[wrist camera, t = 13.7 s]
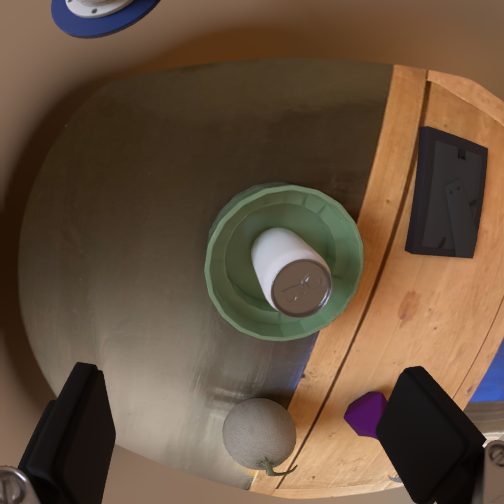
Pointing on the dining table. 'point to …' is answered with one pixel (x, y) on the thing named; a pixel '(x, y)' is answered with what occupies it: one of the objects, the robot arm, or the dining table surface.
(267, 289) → the can
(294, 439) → the fruit
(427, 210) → the picture frame
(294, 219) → the green faceted bowl
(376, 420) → the purple potion bottle
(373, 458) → the dining table surface
